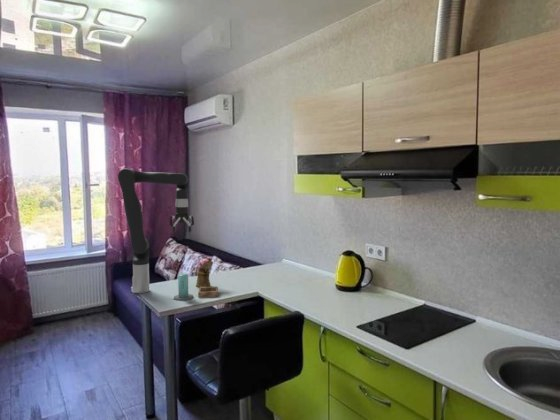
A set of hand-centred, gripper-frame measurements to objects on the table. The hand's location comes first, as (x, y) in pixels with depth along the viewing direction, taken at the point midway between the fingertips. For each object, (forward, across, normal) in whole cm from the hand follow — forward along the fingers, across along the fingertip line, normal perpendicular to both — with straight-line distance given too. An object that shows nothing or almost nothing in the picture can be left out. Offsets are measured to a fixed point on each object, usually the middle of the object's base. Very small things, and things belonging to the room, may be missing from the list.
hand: (182, 232), depth 239 cm
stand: (+36, -16, +11) cm, 41 cm away
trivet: (+36, -2, +16) cm, 40 cm away
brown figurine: (+36, -13, -6) cm, 39 cm away
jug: (+36, -2, +17) cm, 40 cm away
